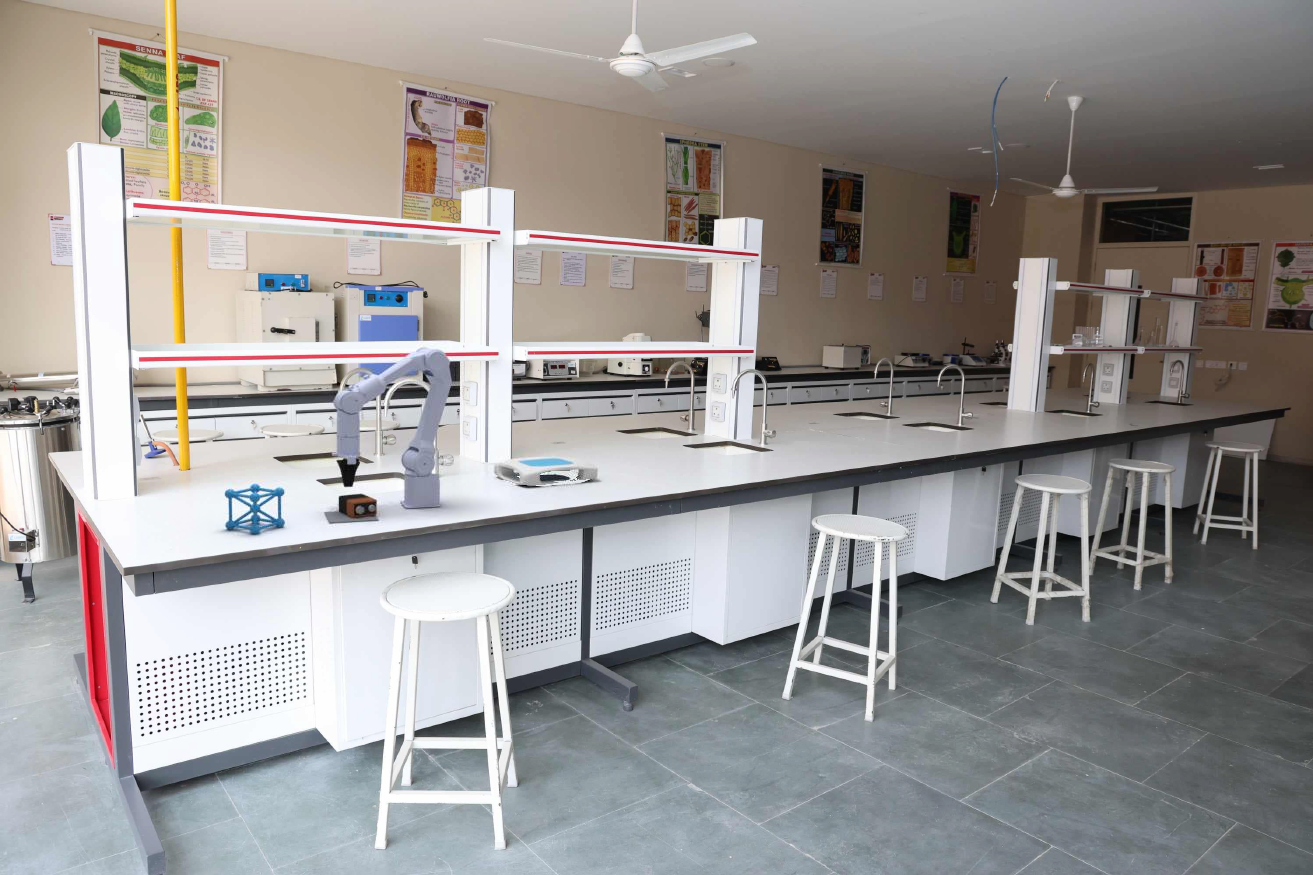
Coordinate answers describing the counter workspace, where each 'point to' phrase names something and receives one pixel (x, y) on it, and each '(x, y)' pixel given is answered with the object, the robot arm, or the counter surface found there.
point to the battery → (357, 505)
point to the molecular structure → (254, 508)
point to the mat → (346, 517)
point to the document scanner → (542, 469)
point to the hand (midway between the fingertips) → (348, 486)
